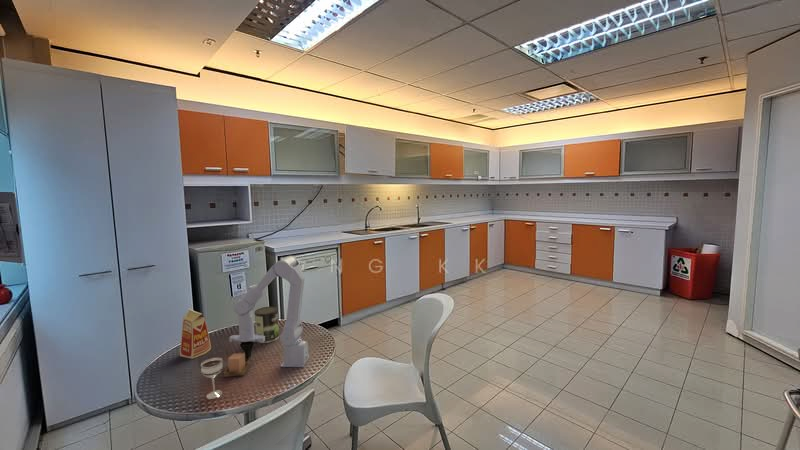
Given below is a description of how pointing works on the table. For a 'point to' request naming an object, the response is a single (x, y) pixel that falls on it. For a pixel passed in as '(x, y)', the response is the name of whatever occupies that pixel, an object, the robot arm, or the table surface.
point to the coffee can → (267, 323)
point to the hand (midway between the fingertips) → (248, 357)
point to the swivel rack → (237, 373)
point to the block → (236, 362)
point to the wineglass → (212, 373)
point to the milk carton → (194, 335)
